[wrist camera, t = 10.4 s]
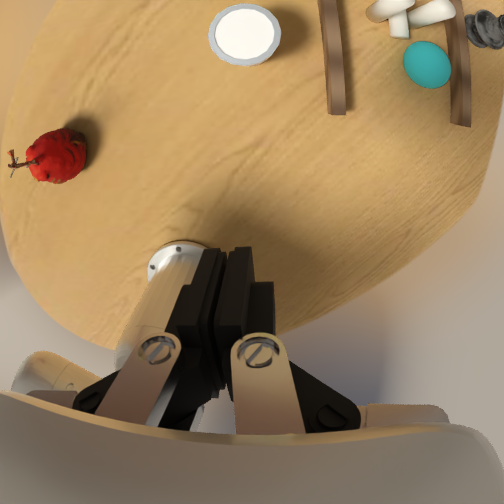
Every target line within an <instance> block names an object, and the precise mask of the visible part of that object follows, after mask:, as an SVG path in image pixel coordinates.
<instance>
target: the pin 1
mask: <svg viewBox="0 0 504 504" xmlns="http://www.w3.org/2000/svg"><path fill="white" fill-rule="evenodd" d="M414 3H415V0H377V1H376V2H375V3H373V4H372V5H371V6H370V7H368V8H367V9H366V16H367V18H368V19H369V20H370V21H372V22H374V23H380V22H382V21H384V20H386V19H388V18H390V17H391V16H393V15H395V14H397V13H399V12H401V11H403V10H405V9H407V8H409V7H411V6H413V5H414Z"/></svg>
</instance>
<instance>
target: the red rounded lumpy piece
mask: <svg viewBox="0 0 504 504" xmlns="http://www.w3.org/2000/svg"><path fill="white" fill-rule="evenodd" d="M8 154H9V155H10V156H11V158H12V162H13V163H12V164H11V165H10V164H8V167H9V168H12V169H13V171H12V174H13V172H14V170H15V169H16V168H19V167H22V166H24V167H25V168H28V167H29V169H30V171H31V173H32V176H33V177H34V179H35V180H37V181H48V182H53V183H54V184H62V183H64V182H66V181H67V180H70V179H72V178H74V177H75V176H77V175H78V174H79V173H80V171H81V170H82V169H83V166H84V164H85V161H86V139H85V137H84V135H83V134H81V133H77V132H75V131H72V130H70V129H64V128H62V129H58V130H55V131H51V132H47V133H45V134H43V135H42V136H40V137H39V138H38V139H37V140H36V141H35V142H34V143H33V145H32V146H30V147H29V148H28V149H27V151H26V156H27V158H26V162H25V163H20V164H16V163H17V160H18V157H17V158H16V161H15V158H14V149H13V150H10V151H9V152H8ZM12 174H11V176H10V178H11V177H12Z"/></svg>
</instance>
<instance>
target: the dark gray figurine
mask: <svg viewBox="0 0 504 504" xmlns="http://www.w3.org/2000/svg"><path fill="white" fill-rule="evenodd" d="M464 19H465V25H466V32H467V37H468V39H469V40H470V41H471V42H472V43H473V44H474V45H475V46H477V47H479V48H485V47H487V46H489V47H491V48H493V49H501V48H502V47H503V46H504V15H500V16H499V17H498V18H496V17H495V15H493V14H492V13H491V12H489V11H487V10H479V11H478V12H477V13H476V14H475V15H471V14H470V15H467V16H465V17H464Z"/></svg>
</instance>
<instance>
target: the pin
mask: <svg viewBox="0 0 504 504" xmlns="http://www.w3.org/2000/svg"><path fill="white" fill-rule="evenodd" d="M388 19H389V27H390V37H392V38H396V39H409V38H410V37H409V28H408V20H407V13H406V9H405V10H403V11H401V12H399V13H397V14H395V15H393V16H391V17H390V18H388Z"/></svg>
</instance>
